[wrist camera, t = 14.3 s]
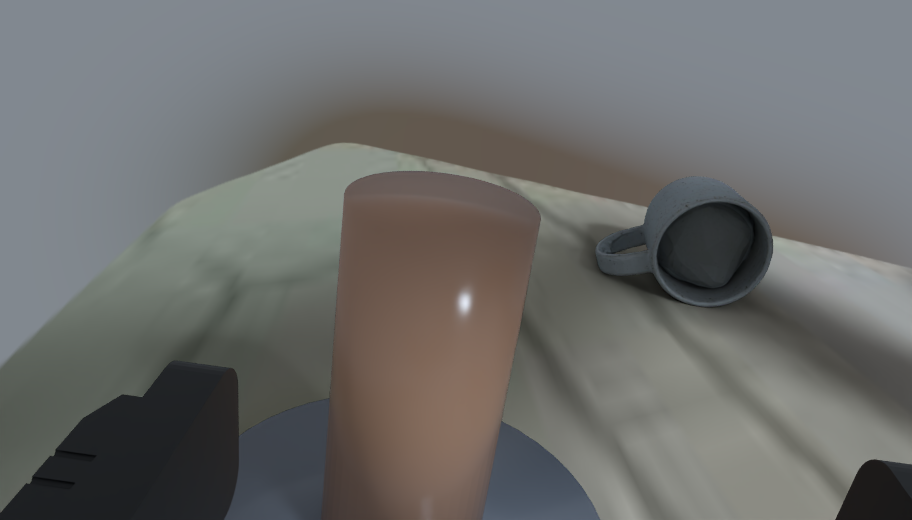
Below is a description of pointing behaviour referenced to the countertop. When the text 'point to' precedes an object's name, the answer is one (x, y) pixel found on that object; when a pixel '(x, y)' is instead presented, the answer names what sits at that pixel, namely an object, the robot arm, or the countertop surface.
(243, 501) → the slate dish
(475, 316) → the canister
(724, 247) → the ceramic mug
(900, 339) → the countertop surface
